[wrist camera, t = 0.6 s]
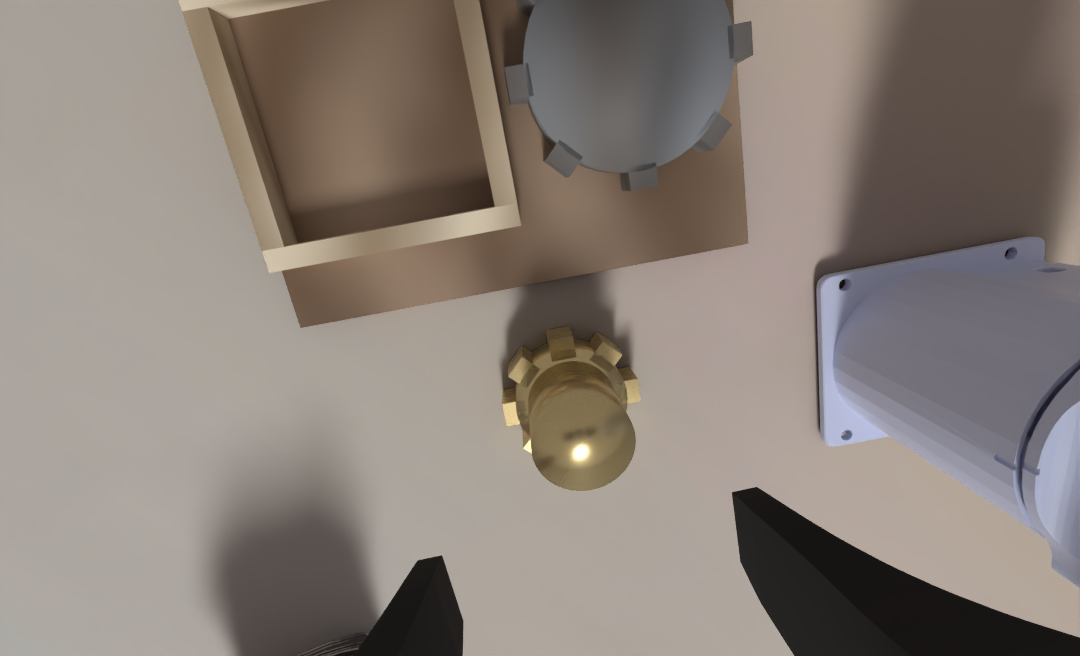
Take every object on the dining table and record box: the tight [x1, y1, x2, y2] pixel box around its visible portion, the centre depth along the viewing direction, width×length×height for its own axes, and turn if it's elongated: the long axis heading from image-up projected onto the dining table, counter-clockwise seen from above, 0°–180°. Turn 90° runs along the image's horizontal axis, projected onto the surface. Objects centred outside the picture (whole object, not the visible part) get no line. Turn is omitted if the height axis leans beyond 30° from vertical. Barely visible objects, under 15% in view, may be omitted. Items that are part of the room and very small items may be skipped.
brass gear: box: [502, 326, 641, 491], centre depth 20 cm, size 6×6×5 cm
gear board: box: [178, 0, 753, 328], centre depth 18 cm, size 18×14×2 cm
